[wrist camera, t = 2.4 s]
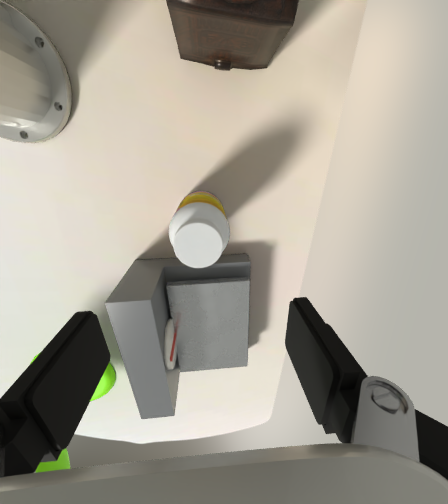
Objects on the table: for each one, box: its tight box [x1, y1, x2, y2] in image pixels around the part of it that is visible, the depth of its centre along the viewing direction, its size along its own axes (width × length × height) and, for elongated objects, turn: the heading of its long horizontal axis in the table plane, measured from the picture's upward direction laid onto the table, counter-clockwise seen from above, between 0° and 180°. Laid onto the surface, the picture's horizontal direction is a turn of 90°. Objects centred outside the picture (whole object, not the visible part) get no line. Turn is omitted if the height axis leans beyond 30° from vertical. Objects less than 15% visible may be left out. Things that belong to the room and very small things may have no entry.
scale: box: [105, 254, 251, 419], centre depth 33 cm, size 22×18×11 cm
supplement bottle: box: [169, 191, 230, 268], centre depth 25 cm, size 7×7×13 cm
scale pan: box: [166, 277, 250, 372], centre depth 34 cm, size 18×12×1 cm, turn 1°
